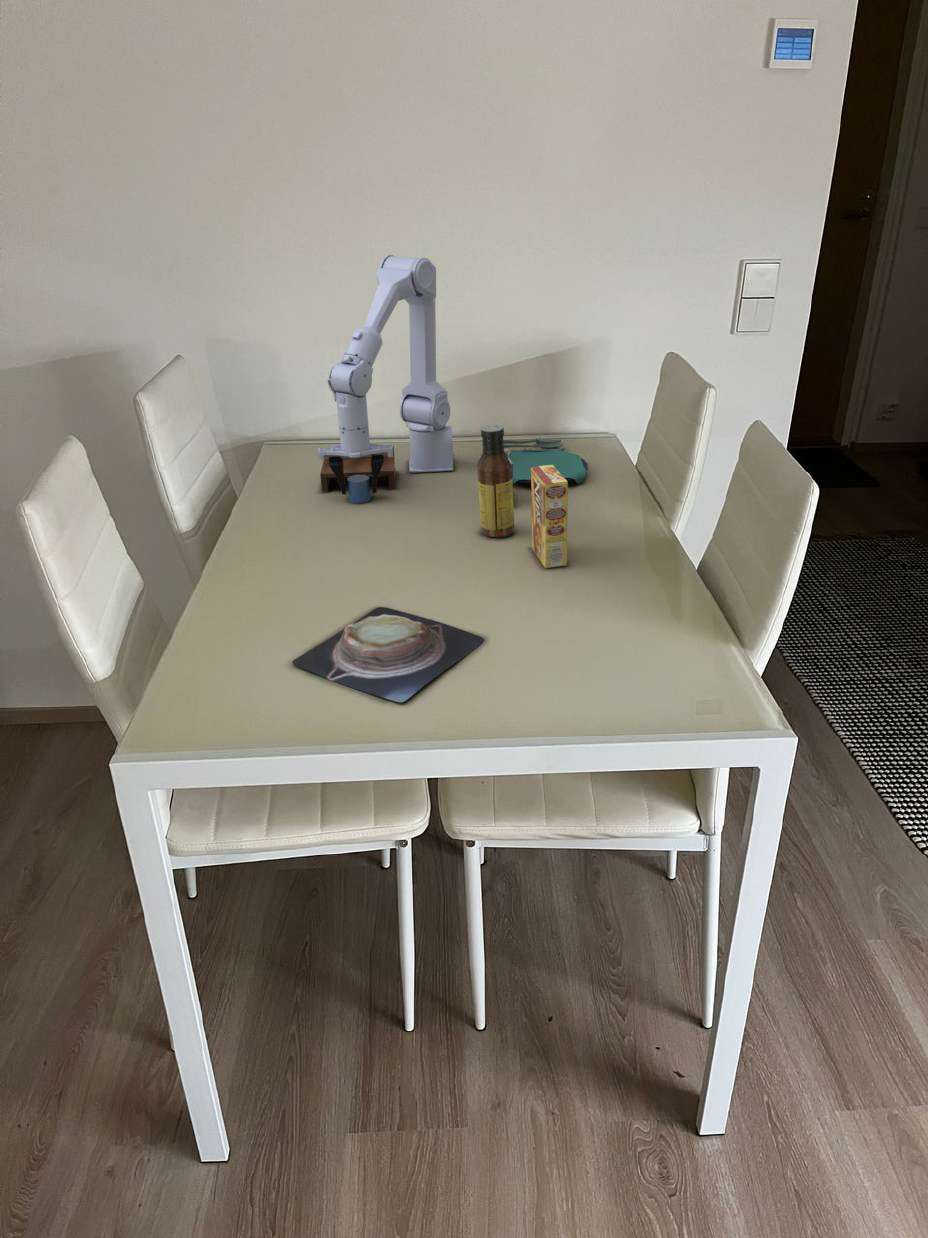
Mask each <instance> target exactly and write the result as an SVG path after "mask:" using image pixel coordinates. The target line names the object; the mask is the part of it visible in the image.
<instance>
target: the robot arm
mask: <svg viewBox="0 0 928 1238" xmlns="http://www.w3.org/2000/svg"><path fill="white" fill-rule="evenodd" d="M375 277H376V281H377V288H376V290H375V295H374V296H373V299H372V302H371V305H370V308H369V311H368V314H367V316H366V318H365V321H364V324H363V326H360V327H356V328H355V330H354V331H353V334H352V336H351V338H350V341H349V343H348V345H347V347H346V349H345V351H344V353H343V356H342V358H341V360H340V362H338V363H336V364H335V365H334V366H332V368H331V369H330V371H329V375H328V380H327V385H328V388H329V390H330V391H331V392H332V395H333V401H335V403H336V410H337V420H338V422H337V423H338V430H339V441H340V444H339V445H333V446H327V447H318V449H317V450H318V451H317V452H318V461H324V460H325V459H329V466H330V468H331V470H332V471H333V473H334V474H335V476H336V477H335V478H336V480H337V483H338V484H339V488H340V490H341V495H347V484H346V479H345V477H344V469H343V458H359V457H371V469H372V475H371V478H372V482H371V483H372V484H371V485H372V487H371V490H372V494H376V493H377V485H378V479H379V476H380V475H379V473H380V470H381V468H382V465H383V462H384V456H388V457H393V446H394V445H393V444H380V443H379V444H377V443H371V441H370V428H369V427H370V426H369V416H368V402H367V401H368V400H367V393H368V392H369V391H370V390H371V388H372V383H373V374H374V373H373V372H374V368H373V366H374V363H375V361H376V360H377V358H378V355H379V352H380V350H381V348H382V346H383V338H382V335H381V333H382V332H383V330H384V328H385V326H386V324H387V322H388V320H389V319H390V317H391V315H392V314H393V312H394V310H395V308H396V306H397V305H398V303H399V302H400V301H403V300H404V301H406V303H407V304H408V316H409V317H408V318H409V320H408V321H409V366H410V367H409V368H410V382H409V383H408V384H406V385H405V386H404V387H403V388H402V389H401V400H400V402H399V416H400V418H401V420H402V421H403V422H405V427H406V428H408V435H409V436H408V438H409V451H410V458H409V459H408V462H409V463H408V466H409V467H408V470H409V471H408V472H409V473H411V474H412V473H413V474H414V473H431V472H432V473H433V472H453V471H454V460H455V451H454V448H453V429H452V426H451V425H447V424H448V422H449V419H450V417H451V406H450V402H449V398H448V397H449V396H448V391H447V390H446V388H444V387H443V386H442V385H441V384H440V383H439V381H438V380H437V329H436V327H437V326H436V325H437V324H436V321H437V320H436V315H437V314H436V313H437V311H436V299H437V267H436V266H435V265H434V263H433V262H432V261H431V260H430V259H429V258H427V257H425V256H424V257H423V256H422V257H412V256H411V257H409V256H398V255H397V256H396V255H392V254H387V255H385V256H384V257H383V258H382V259H381V261H380V264H379V267H378V270H377V271H376V276H375Z"/></svg>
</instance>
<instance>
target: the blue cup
mask: <svg viewBox="0 0 928 1238" xmlns="http://www.w3.org/2000/svg"><path fill="white" fill-rule="evenodd" d="M346 478H347V479H346V482H347V491H348V492H347V493H348V501H349V502H350V503H352V504H366V503H368V502H370V501H371V500H372V494H371V483H370V481H371V480H370V476H369V475H368V476H366V475H353V476H347V477H346Z"/></svg>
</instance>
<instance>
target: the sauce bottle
mask: <svg viewBox="0 0 928 1238" xmlns="http://www.w3.org/2000/svg"><path fill="white" fill-rule="evenodd" d="M480 436H481V440H482V453H481V456H480V458H479V459H478V461H477V465H476V466H477V488H478V489H477V490H478V502H479V503H478V504H479V518H480V519H479V521H480V526H481V527H480V529H481V532H482V534H483V535H485V536H486V537H491V538H504V537H508V536H510V535H512V534H513V533H514V530H515V503H514V484H513V482H512V474H511V463H510V461H509V459H508V457H507V455H506V454H505V452H504V444H503V440H504V436H505V429H504V426H503V425H500V424H487V425H484V426H482V427H481V428H480Z"/></svg>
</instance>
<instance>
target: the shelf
mask: <svg viewBox="0 0 928 1238" xmlns="http://www.w3.org/2000/svg"><path fill="white" fill-rule="evenodd" d="M395 459H396V458H395V446H394V445H393V457H388V456H384V462H383V465H382V468H381V470H380V473H379V476H387V479H388V489H389V490H396V473H397V472H396V460H395ZM343 469H344V478H345V477H346V478H347V477H350V476H353V475H366V476H368V477H369V476H372V469H371V457H359V458H343ZM319 475H320V484H321V492H322V493H328V492H329V489H330V485H331V479H332V478H336V476H335V474H334V473H333V471H332V470H331V468H330V466H329V459H325V460H322V464H321V470H320V474H319Z"/></svg>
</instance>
